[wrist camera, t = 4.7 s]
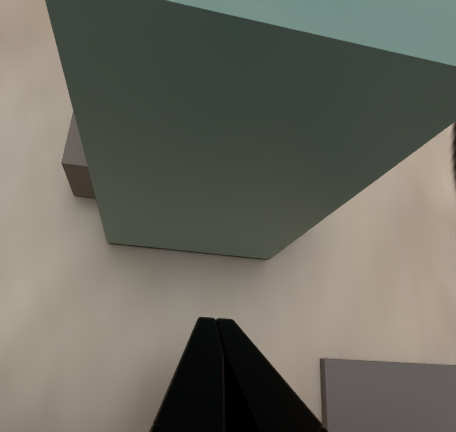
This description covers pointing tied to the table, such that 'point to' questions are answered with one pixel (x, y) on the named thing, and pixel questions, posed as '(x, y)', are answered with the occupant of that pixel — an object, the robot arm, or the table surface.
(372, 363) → the card
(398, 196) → the table surface
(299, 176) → the teal tall block
